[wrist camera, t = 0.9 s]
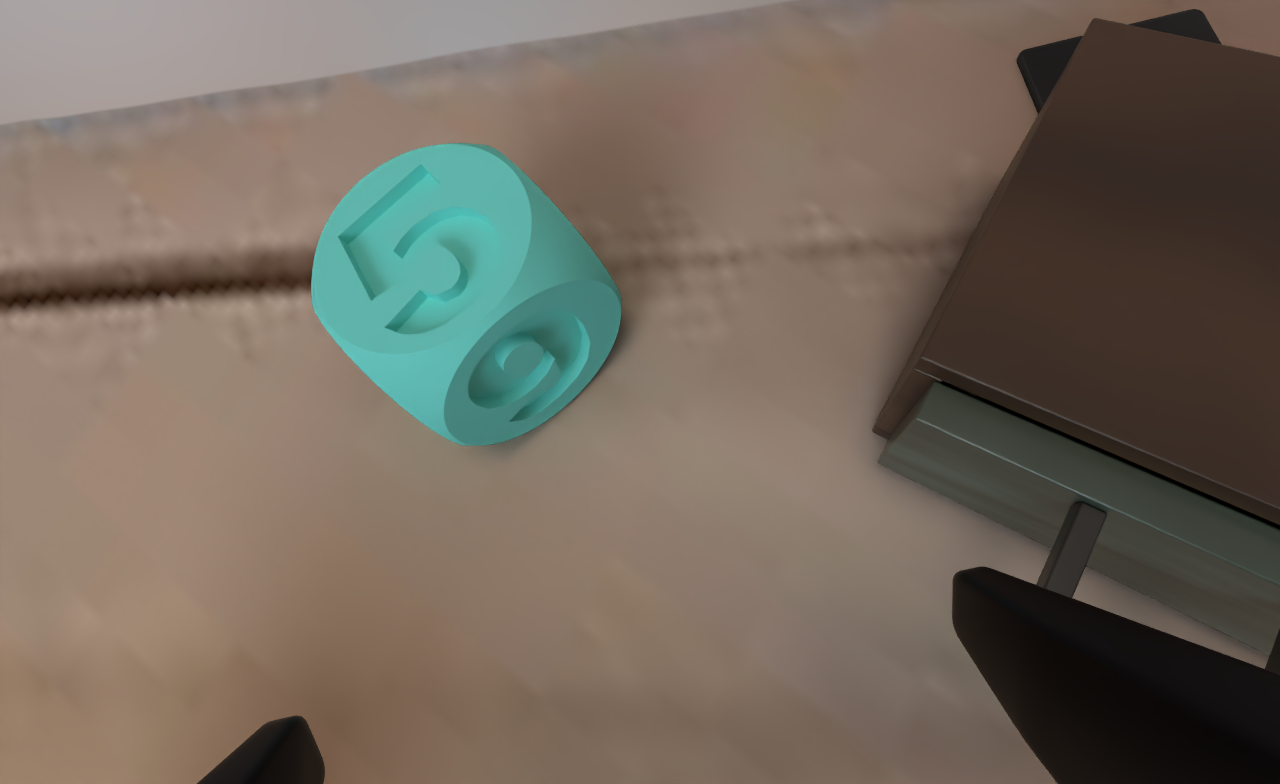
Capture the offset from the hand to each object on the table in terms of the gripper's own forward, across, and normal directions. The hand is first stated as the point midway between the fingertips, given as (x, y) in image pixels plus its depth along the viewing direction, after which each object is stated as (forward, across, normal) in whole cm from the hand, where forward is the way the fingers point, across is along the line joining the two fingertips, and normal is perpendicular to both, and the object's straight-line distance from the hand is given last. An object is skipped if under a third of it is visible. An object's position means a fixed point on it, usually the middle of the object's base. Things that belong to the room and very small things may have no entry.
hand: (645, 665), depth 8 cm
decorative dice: (+20, +3, -1) cm, 20 cm away
